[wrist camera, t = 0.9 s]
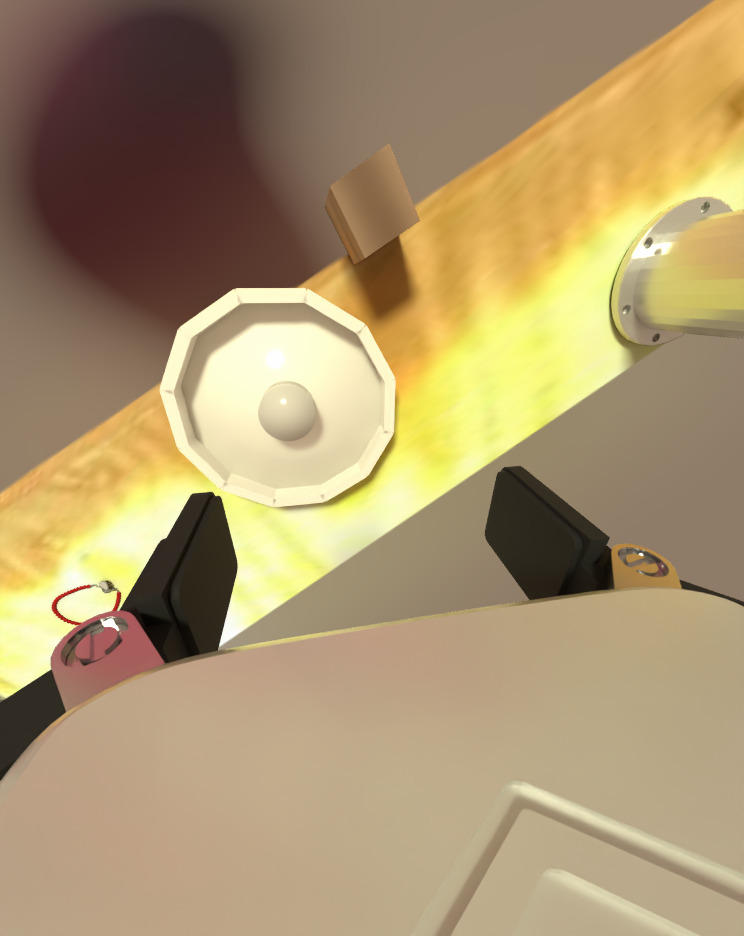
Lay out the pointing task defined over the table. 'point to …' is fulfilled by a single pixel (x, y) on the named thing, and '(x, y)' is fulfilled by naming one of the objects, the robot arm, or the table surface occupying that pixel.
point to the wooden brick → (371, 205)
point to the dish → (261, 359)
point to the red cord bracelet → (102, 584)
